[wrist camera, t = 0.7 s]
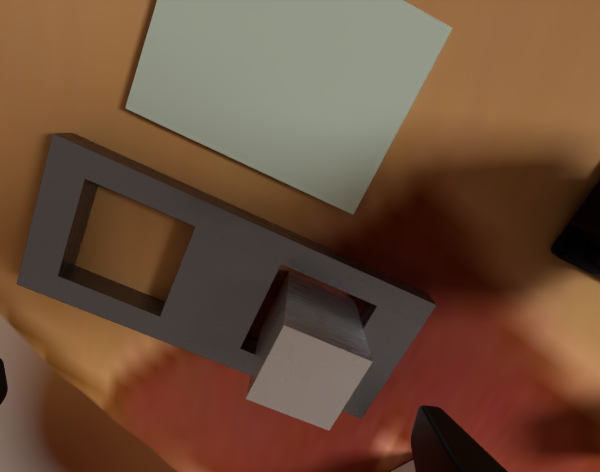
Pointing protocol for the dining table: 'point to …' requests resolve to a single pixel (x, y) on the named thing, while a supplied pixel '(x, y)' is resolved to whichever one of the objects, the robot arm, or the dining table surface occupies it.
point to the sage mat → (289, 83)
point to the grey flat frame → (202, 267)
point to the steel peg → (309, 353)
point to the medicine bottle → (406, 467)
